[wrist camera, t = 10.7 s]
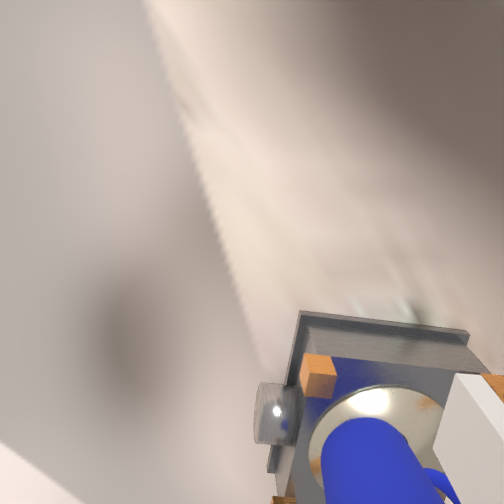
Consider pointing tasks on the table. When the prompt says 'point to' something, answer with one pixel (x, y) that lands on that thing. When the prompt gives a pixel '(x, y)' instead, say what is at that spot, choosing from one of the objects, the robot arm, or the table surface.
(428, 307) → the table surface
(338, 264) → the table surface
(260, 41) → the table surface
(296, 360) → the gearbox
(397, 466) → the mug
